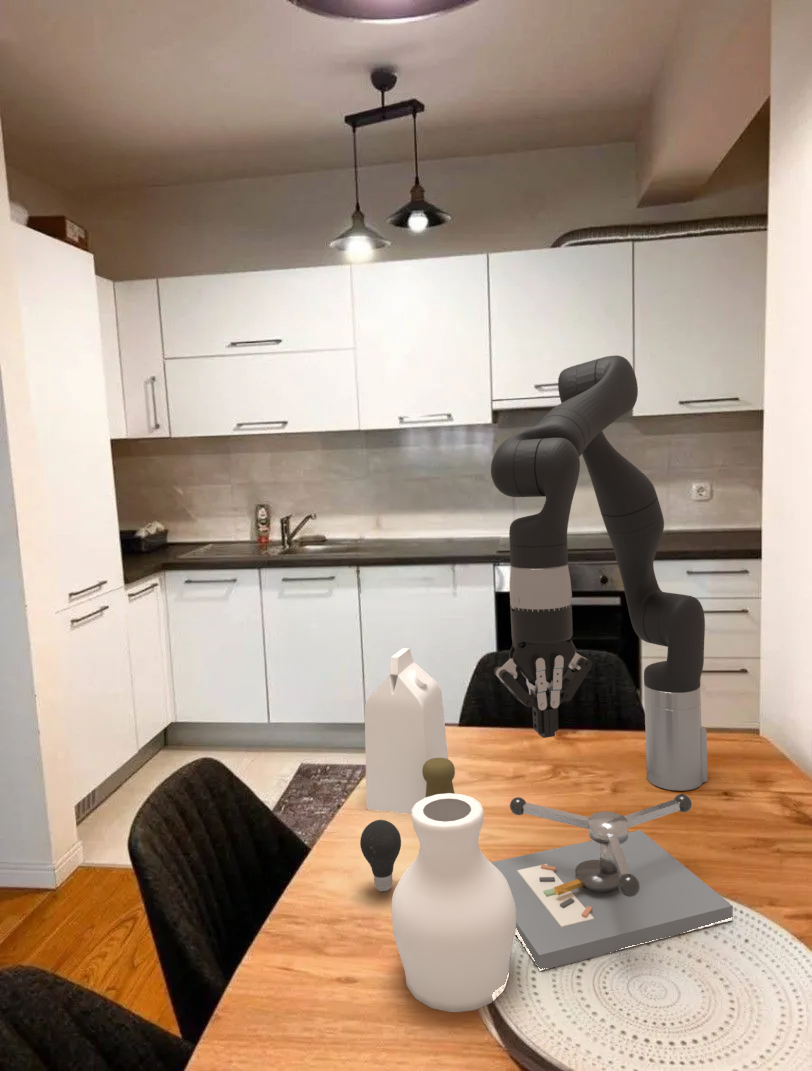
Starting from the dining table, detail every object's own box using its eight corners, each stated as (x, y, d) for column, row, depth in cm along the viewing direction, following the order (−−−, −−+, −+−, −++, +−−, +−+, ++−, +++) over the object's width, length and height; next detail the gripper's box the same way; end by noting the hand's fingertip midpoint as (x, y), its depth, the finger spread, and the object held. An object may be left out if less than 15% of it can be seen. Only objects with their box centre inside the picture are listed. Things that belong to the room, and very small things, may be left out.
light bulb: (363, 881, 106) (358, 814, 105) (402, 877, 106) (398, 810, 105) (364, 905, 100) (359, 834, 99) (406, 900, 100) (401, 830, 99)
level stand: (640, 842, 111) (640, 826, 111) (732, 920, 92) (732, 901, 92) (477, 878, 104) (476, 862, 104) (539, 971, 85) (538, 951, 85)
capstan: (628, 809, 116) (626, 761, 115) (766, 890, 93) (765, 831, 92) (503, 850, 106) (500, 798, 105) (623, 951, 84) (621, 885, 83)
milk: (391, 779, 138) (382, 642, 136) (450, 785, 134) (442, 644, 132) (366, 809, 127) (355, 661, 124) (430, 816, 123) (421, 663, 121)
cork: (458, 836, 116) (454, 769, 115) (420, 835, 118) (415, 768, 116) (463, 817, 122) (459, 753, 121) (426, 816, 123) (422, 752, 122)
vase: (432, 922, 96) (422, 772, 93) (537, 953, 88) (530, 792, 86) (371, 994, 83) (358, 824, 81) (488, 1038, 76) (477, 852, 74)
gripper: (574, 590, 98) (579, 718, 100) (479, 601, 94) (486, 733, 96) (604, 600, 91) (608, 737, 92) (502, 611, 87) (509, 754, 89)
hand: (545, 735), depth 94 cm, fingers closed
